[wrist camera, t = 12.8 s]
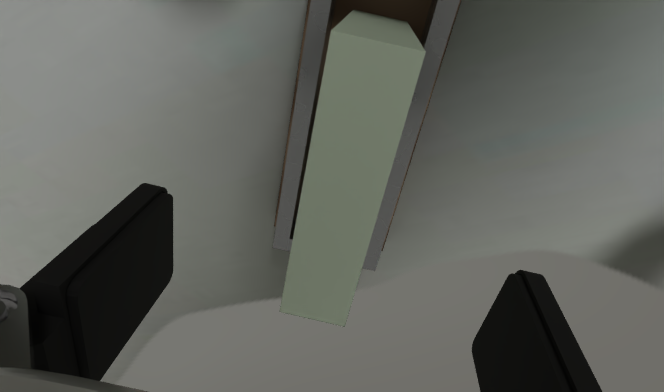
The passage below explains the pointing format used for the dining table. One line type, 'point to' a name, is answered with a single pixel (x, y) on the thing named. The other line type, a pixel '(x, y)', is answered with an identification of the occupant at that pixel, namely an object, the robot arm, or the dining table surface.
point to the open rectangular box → (322, 16)
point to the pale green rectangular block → (349, 160)
